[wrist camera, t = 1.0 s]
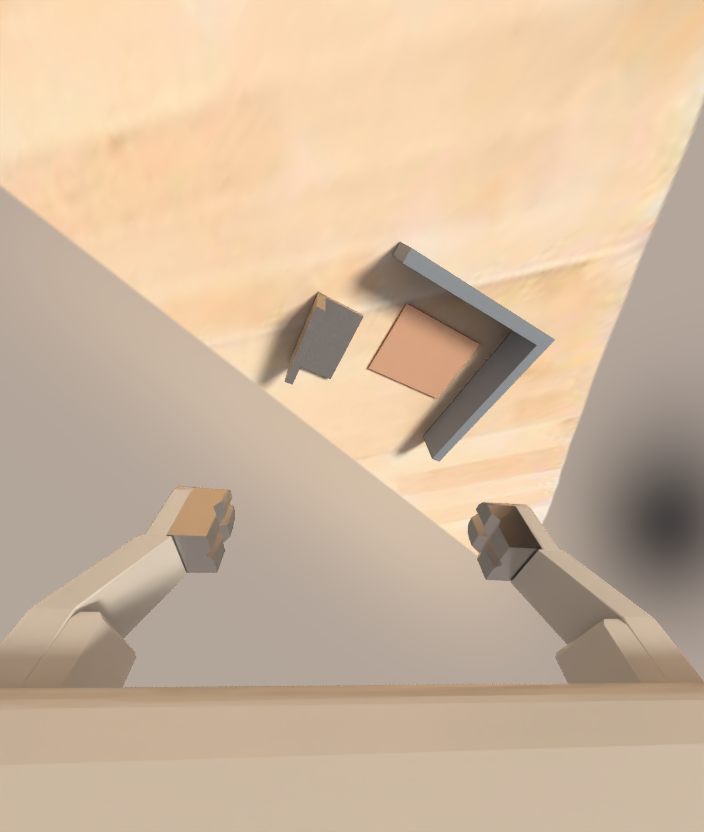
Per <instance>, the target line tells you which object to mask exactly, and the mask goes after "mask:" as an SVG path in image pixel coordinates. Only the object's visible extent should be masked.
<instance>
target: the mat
mask: <svg viewBox="0 0 704 832" xmlns="http://www.w3.org/2000/svg"><path fill="white" fill-rule="evenodd" d="M479 346H480V344H479V343H477V342H475V341H474V340H472V339H470V338H468V337H466V336H465V335H463V334H461V333H459V332H457V331H456V330H454V329H452V328H450V327H448V326H447V325H445V324H443V323H441V322H439V321H438V320H436V319H434V318H432V317H430V316H429V315H427V314H425V313H423V312H421V311H420V310H418V309H416V308H414V307H413V306H411V305H409V304H406V305H405V307H404V309H403V310H402V312H401V314H400V315H399V317H398V319H397V320H396V322H395V324H394V325H393V327H392V329H391V330H390V332H389V334H388V335H387V337H386V339H385V341H384V342H383V344H382V346H381V347H380V349H379V351H378V352H377V354H376V356H375V357H374V359H373V361H372V362H371V364H370V366H369V369H371V370H373V371H376V372H378V373H380V374H383V375H385V376H387V377H389V378H392V379H394V380H396V381H398V382H401V383H403V384H405V385H407V386H410V387H412V388H414V389H416V390H419V391H421V392H423V393H426V394H428V395H430V396H432V397H435V398H438V397H439V395H440V394H441V393H442V392H443V390H444V389H445V388H446V387H447V385H448V384H449V383H450V382H451V380H452V379H453V378H454V377H455V375H456V374H457V373H458V372H459V370H460V369H461V368H462V367H463V366H464V364H465V363H466V362H467V361H468V359H469V358H470V357H471V356H472V354H473V353H474V352H475V351H476V349H477V348H478V347H479Z"/></svg>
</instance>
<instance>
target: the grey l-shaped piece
mask: <svg viewBox="0 0 704 832" xmlns="http://www.w3.org/2000/svg"><path fill="white" fill-rule="evenodd" d="M393 256H394V257H396V258H397V259H398V260H399V261H401V262H402V263H403V264H405V265H406V266H408V267H410V268H411V269H413V270H415V271H416V272H418V273H419V274H421V275H423V276H424V277H426V278H428V279H429V280H431V281H433V282H434V283H436V284H438V285H439V286H441V287H442V288H444V289H446V290H447V291H449V292H451V293H452V294H454V295H456V296H457V297H459V298H460V299H462V300H464V301H465V302H467V303H469V304H470V305H472V306H474V307H475V308H477V309H479V310H480V311H482V312H483V313H485V314H487V315H488V316H490V317H492V318H493V319H495V320H497V321H498V322H500V323H501V324H503V325H505V326H506V327H508V328H510V329H511V330H513V331H512V332H511V333H510V334H509V335H508V337H507V338H506V339H505V340H504V341H503V342H502V344H501V345H500V346H499V347H498V348H497V350H496V351H495V352H494V353H493V354H492V355H491V357H490V358H489V359H488V360H487V361H486V363H485V364H484V365H483V366H482V367H481V368H480V370H479V371H478V372H477V373H476V374H475V376H474V377H473V378H472V379H471V380H470V381H469V383H468V384H467V385H466V386H465V387H464V389H463V390H462V391H461V392H460V393H459V394H458V396H457V397H456V398H455V399H454V400H453V402H452V403H451V404H450V405H449V406H448V407H447V409H446V410H445V411H444V412H443V413H442V415H441V416H440V417H439V418H438V419H437V420H436V422H435V423H434V424H433V425H432V426H431V428H430V429H429V430H428V431H427V432H426V433H425V435H424V436H423V438H424V440H425V443H426V445H427V447H428V450H429V452H430V455H431V457H432V459H434V460H437V461H440V460H441V459H442V458H443V457H444V456H445V455H446V454H447V453H448V452H449V451H450V450H451V449H452V448H453V447H454V446H455V444H456V443H457V442H458V441H459V440H460V439H461V438H462V437H463V436H464V435H465V434H466V433H467V432H468V431H469V430H470V429H471V428H472V427H473V426H474V424H475V423H476V422H477V421H478V420H479V419H480V418H481V417H482V416H483V415H484V414H485V413H486V412H487V411H488V410H489V409H490V408H491V407H492V406H493V404H494V403H495V402H496V401H497V400H498V399H499V398H500V397H501V396H502V395H503V394H504V393H505V392H506V391H507V390H508V389H509V388H510V387H511V386H512V384H513V383H514V382H515V381H516V380H517V379H518V378H519V377H520V376H521V375H522V374H523V373H524V372H525V371H526V370H527V369H528V368H529V367H530V366H531V364H532V363H533V362H534V361H535V360H536V359H537V358H538V357H539V356H540V355H541V354H542V353H543V352H544V351H545V350H546V349H547V348H548V347H549V346H550V344H551V343H552V342H553V341H554V340H555V339H553V338H552V337H550V336H548V335H547V334H545V333H544V332H542V331H541V330H539V329H537V328H536V327H534V326H533V325H531V324H530V323H528V322H526V321H525V320H523V319H522V318H520V317H519V316H517V315H516V314H514V313H512V312H511V311H509V310H508V309H506V308H505V307H503V306H501V305H500V304H498V303H497V302H495V301H494V300H492V299H490V298H489V297H487V296H486V295H484V294H483V293H481V292H480V291H478V290H476V289H475V288H473V287H472V286H470V285H469V284H467V283H465V282H464V281H462V280H461V279H459V278H458V277H456V276H454V275H453V274H451V273H450V272H448V271H447V270H445V269H444V268H442V267H440V266H439V265H437V264H436V263H434V262H433V261H431V260H429V259H428V258H426V257H425V256H423V255H422V254H420V253H418V252H417V251H415V250H414V249H412V248H411V247H409V246H407V245H405V244H403V243H401V242H399V244H398V246H397V248H396V250H395V252H394V254H393Z"/></svg>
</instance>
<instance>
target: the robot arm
mask: <svg viewBox="0 0 704 832" xmlns="http://www.w3.org/2000/svg"><path fill="white" fill-rule="evenodd" d="M231 499H232V494H231V491H230V490H224V489H210V488H197V487H180V486H178V487H177V488H176V489H174V490H173V491H172V493H171V494H170V496H169V497H168V499H167V501H166V502H165V504H164V505H163V507H162V508H161V510H160V512H159V513H158V515H157V516H156V518H155V519H154V521H153V523H152V524H151V526H150V527H149V529H148V530H147V532H146V534H145V535H138V536H137V537H135V538H134V539H132V540H131V541H129V542H128V543H126V544H125V545H123V546H122V547H120V548H119V549H117V550H116V551H114V552H113V553H111V554H110V555H109V556H107V557H106V558H104V559H103V560H101V561H100V562H98V563H97V564H95V565H94V566H92V567H91V568H89V569H88V570H86V571H85V572H84V573H82V574H80V575H79V576H77V577H76V578H74V579H73V580H72V581H70V582H69V583H67V584H66V585H64V586H63V587H61V588H60V589H58V590H57V591H55V592H54V593H52V594H51V595H49V596H48V597H46V598H45V599H43V600H42V601H41V602H39V603H38V604H36V605H35V606H33V607H32V608H30V609H29V610H28V612H27V613H26V614H25V615H24V616H23V618H22V619H21V620H20V621H19V623H18V624H17V625H16V626H15V628H14V629H13V630H12V631H11V633H10V634H9V635H8V636H7V637H6V639H5V640H4V641H3V642H2V643H1V645H0V832H704V681H703V680H702V679H701V677H700V676H699V675H698V673H697V672H696V671H695V670H694V668H693V667H692V666H691V665H690V663H689V662H688V661H687V659H686V658H685V657H684V656H683V655H682V653H681V652H680V651H679V649H678V648H677V647H676V646H675V644H674V643H673V642H672V641H671V639H670V638H669V637H668V635H667V634H666V633H665V632H664V630H663V629H662V628H661V627H660V625H659V624H658V623H657V622H656V620H655V619H654V618H653V617H651V616H650V615H649V614H647V613H646V612H645V611H643V610H642V609H641V608H639V607H638V606H637V605H635V604H634V603H633V602H631V601H630V600H629V599H627V598H626V597H625V596H623V595H622V594H621V593H619V592H618V591H617V590H615V589H614V588H613V587H611V586H610V585H609V584H608V583H606V582H605V581H603V580H602V579H601V578H599V577H598V576H597V575H596V574H594V573H593V572H591V571H590V570H589V569H587V568H586V567H584V565H582V564H581V563H580V562H578V561H577V560H575V559H574V558H573V557H571V556H570V555H569V554H568V553H566V552H565V551H562V550H558V548H557V546H556V545H555V543H554V542H553V540H552V539H551V537H550V536H549V535H548V533H547V532H546V530H545V529H544V527H543V526H542V524H541V523H540V521H539V520H538V518H537V517H536V515H535V514H534V512H533V511H532V509H531V508H530V507H529V506H527V505H524V504H509V503H485V502H482V503H481V504H479V505H478V507H477V509H476V510H477V513H478V514H477V515H475V516H473V517H472V518H471V520H470V522H469V524H468V535H469V540H470V542H471V545H472V546H473V547H474V548H475V549H476V550H477V551H478V552H479V555H478V559H477V560H478V562H479V564H480V566H481V569H482V572H483V574H484V577H485V579H486V580H504V581H511V583H512V584H513V585H514V586H515V588H516V589H517V590H518V591H519V592H520V593H521V594H522V595H523V596H524V597H525V599H527V601H528V602H529V603H530V604H531V605H532V606H533V607H534V608H535V609H536V610H537V612H538V613H539V614H540V615H541V616H542V617H543V618H544V619H545V620H546V622H548V624H549V625H550V626H551V627H552V628H553V629H554V630H555V631H556V633H557V634H558V635H559V636H560V637H561V638H562V639H563V640H564V641H565V642H566V644H567V646H565V647H564V648H562V649H561V650H559V651H558V652H557V654H556V657H555V658H556V660H557V662H558V664H559V666H560V668H561V670H562V672H563V674H564V676H565V678H566V680H567V682H568V684H465V685H464V684H463V685H462V684H456V685H455V684H452V685H343V686H342V685H341V686H340V685H338V686H229V687H228V686H223V687H222V686H219V687H123V685H124V683H125V681H126V679H127V676H128V674H129V672H130V670H131V668H132V665H133V663H134V661H135V659H136V655H135V652H134V651H133V649H132V648H131V647H130V646H129V645H128V644H127V643H126V641H125V640H124V639H123V638H124V637H125V636H126V635H127V634H128V633H129V632H130V631H131V630H132V629H133V628H134V627H135V626H136V625H137V624H138V623H139V622H140V621H141V620H142V619H143V618H144V617H145V616H146V615H147V614H148V613H149V612H150V611H151V610H152V609H153V608H154V607H155V606H156V605H157V604H158V603H159V602H160V601H161V600H162V599H163V598H164V597H165V596H166V595H167V594H168V593H169V592H170V591H171V590H172V589H173V588H174V587H175V586H176V585H177V584H178V583H179V582H180V581H181V580H182V579H183V578H184V577H185V576H186V575H187V574H186V573H191V572H193V573H194V572H195V573H201V572H203V573H204V572H206V573H207V572H208V573H210V572H212V573H214V572H215V573H216V572H217V571H218V569H219V566H220V563H221V560H222V558H223V555H224V552H225V548H224V544H223V542H225V541H226V540H227V539H228V538H229V537H230V535H231V532H232V529H233V525H234V520H235V510H234V506H233V505H231V504H230V502H231Z"/></svg>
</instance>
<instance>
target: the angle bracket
mask: <svg viewBox="0 0 704 832" xmlns="http://www.w3.org/2000/svg"><path fill="white" fill-rule="evenodd" d="M362 318H363V315H362V314H360V313H359V312H357V311H355V310H353V309H351V308H349V307H347V306H345V305H343V304H341V303H339V302H337V301H335V300H333V299H331V298H329V297H327V296H325V295H323V294H321V293H319V292H318V293H317V296H316V298H315V300H314V303H313V305H312V308H311V310H310V312H309V315H308V317H307V320H306V322H305V324H304V327H303V329H302V332H301V334H300V336H299V339H298V341H297V344H296V346H295V348H294V351H293V353H292V356H291V358H290V361H289V365H288V370H287V374H286V378H285V382H287V383H290V384H292V385H293V382H294V380H295V378H296V376H297V373H298V371H299V369H300V367H302V368H304V369H307V370H309V371H311V372H314V373H316V374H319V375H321V376H324V377H326V378H329V379H331V377H332V375H333V373H334V372H335V370H336V368H337V366H338V364H339V362H340V360H341V358H342V356H343V354H344V353H345V351H346V349H347V347H348V345H349V343H350V341H351V339H352V337H353V335H354V334H355V332H356V330H357V328H358V326H359V324H360V322H361V320H362Z"/></svg>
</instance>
